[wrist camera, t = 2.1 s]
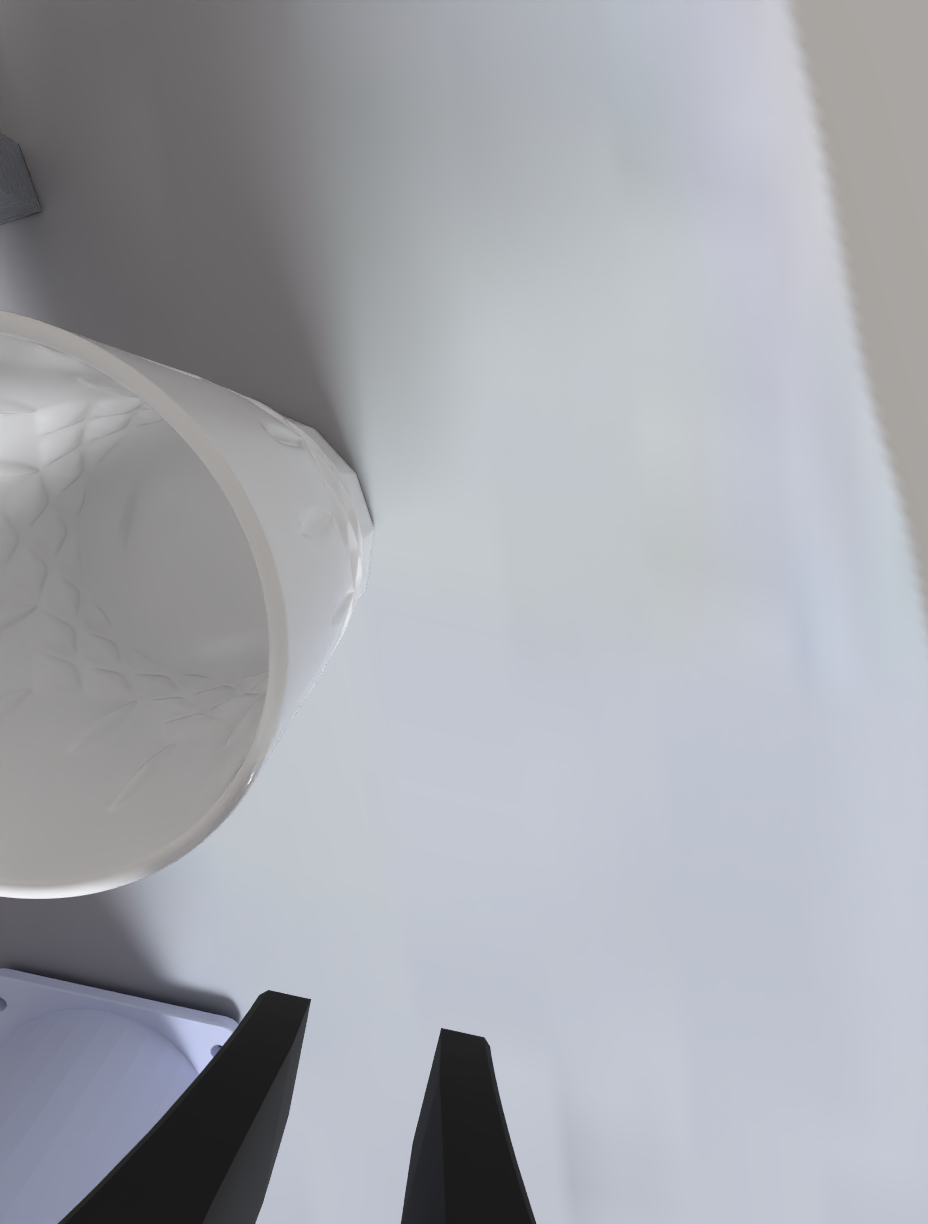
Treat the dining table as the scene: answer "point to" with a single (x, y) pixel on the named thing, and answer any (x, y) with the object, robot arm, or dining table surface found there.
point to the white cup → (151, 603)
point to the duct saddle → (15, 184)
